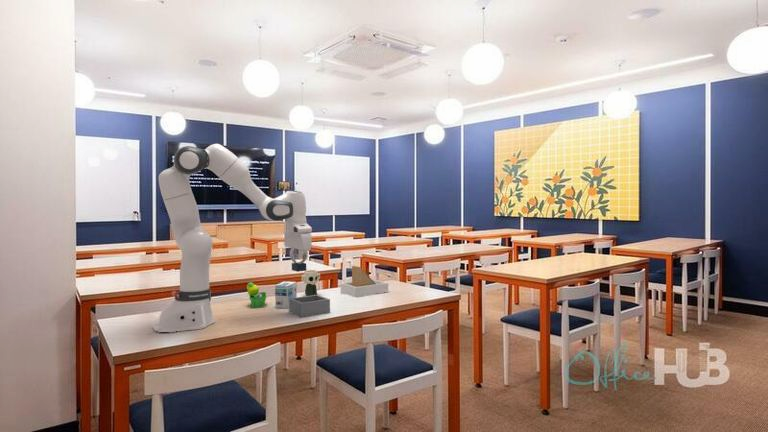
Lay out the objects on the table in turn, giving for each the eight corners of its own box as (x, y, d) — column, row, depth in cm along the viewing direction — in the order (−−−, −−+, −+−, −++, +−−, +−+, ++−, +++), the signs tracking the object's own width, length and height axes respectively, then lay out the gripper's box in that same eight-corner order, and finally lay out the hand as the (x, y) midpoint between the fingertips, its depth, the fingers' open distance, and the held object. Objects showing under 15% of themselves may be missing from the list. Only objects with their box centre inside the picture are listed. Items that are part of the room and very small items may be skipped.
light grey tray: (355, 297, 237) (355, 287, 237) (340, 292, 249) (340, 283, 249) (388, 292, 249) (388, 283, 249) (372, 287, 261) (372, 279, 261)
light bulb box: (288, 308, 213) (288, 285, 212) (274, 308, 214) (274, 285, 214) (297, 303, 223) (297, 281, 223) (284, 302, 225) (284, 281, 224)
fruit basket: (266, 307, 215) (266, 283, 215) (246, 308, 213) (246, 284, 212) (265, 302, 226) (265, 279, 226) (247, 303, 224) (246, 280, 223)
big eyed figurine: (305, 298, 235) (305, 272, 234) (298, 295, 240) (298, 271, 240) (323, 295, 242) (323, 270, 241) (316, 293, 247) (316, 269, 247)
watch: (310, 269, 203) (309, 245, 203) (293, 272, 198) (292, 246, 198) (304, 268, 208) (303, 244, 207) (288, 270, 203) (287, 245, 202)
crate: (301, 317, 197) (301, 303, 197) (289, 311, 207) (289, 298, 206) (329, 312, 205) (329, 299, 205) (317, 307, 215) (316, 294, 215)
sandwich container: (384, 292, 251) (384, 264, 250) (360, 295, 242) (360, 267, 241) (375, 289, 258) (375, 262, 257) (351, 292, 248) (351, 265, 248)
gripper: (280, 226, 208) (281, 257, 209) (300, 229, 192) (301, 262, 192) (292, 225, 212) (293, 255, 213) (313, 228, 195) (314, 260, 196)
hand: (297, 258), depth 202 cm, fingers closed on watch, 3 cm apart
